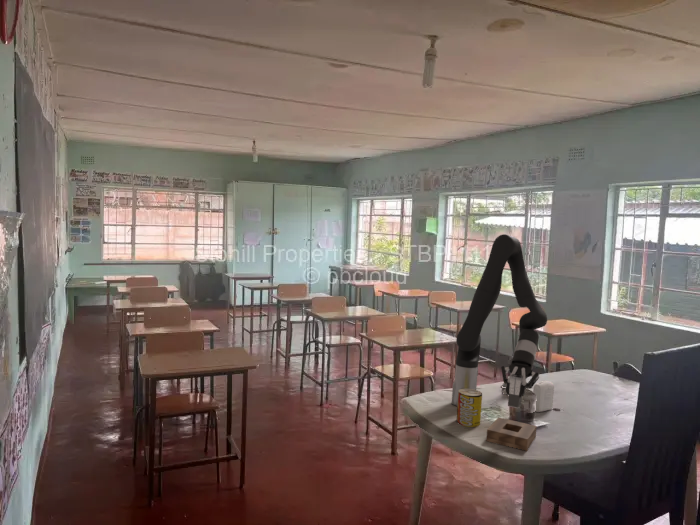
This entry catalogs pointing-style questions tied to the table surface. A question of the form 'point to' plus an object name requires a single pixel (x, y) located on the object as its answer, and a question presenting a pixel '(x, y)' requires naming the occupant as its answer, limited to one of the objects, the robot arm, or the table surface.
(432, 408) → the table surface
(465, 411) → the yellow tin can
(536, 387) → the white rounded slab
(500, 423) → the stand
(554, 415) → the table surface
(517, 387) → the white grey tall block
